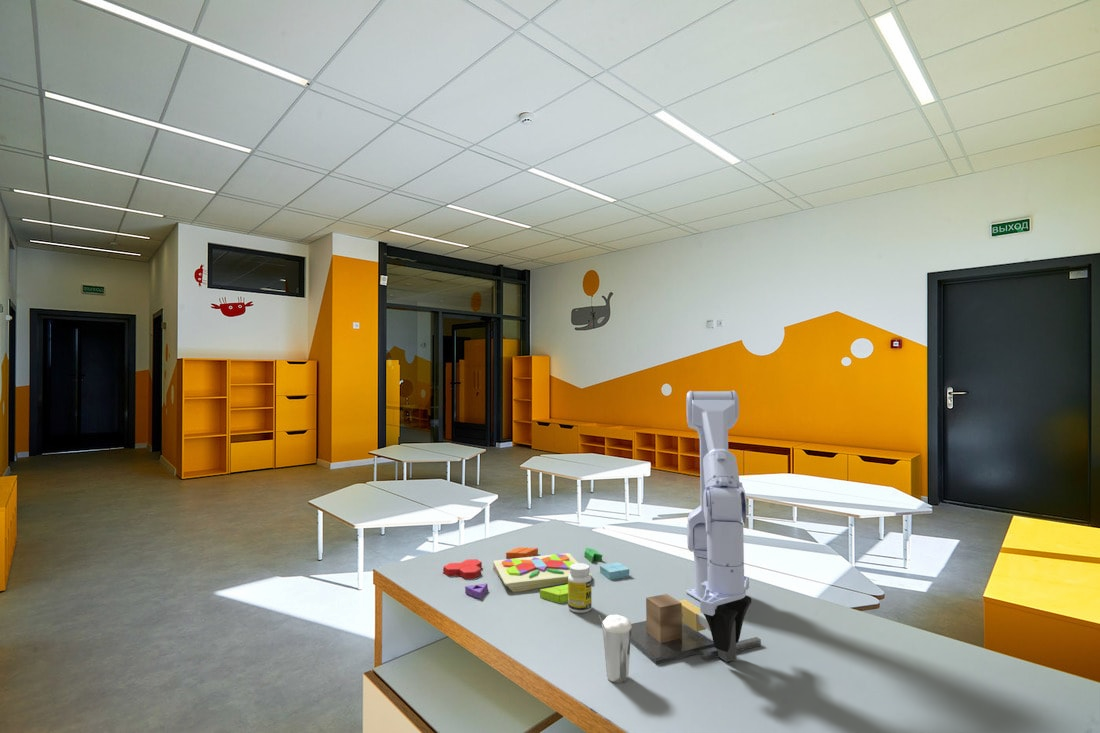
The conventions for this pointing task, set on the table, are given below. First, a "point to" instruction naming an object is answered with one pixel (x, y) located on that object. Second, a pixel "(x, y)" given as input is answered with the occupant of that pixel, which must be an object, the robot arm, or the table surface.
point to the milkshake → (617, 647)
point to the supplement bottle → (579, 588)
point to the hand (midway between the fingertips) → (726, 644)
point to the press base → (680, 644)
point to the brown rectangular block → (664, 618)
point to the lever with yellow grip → (706, 627)
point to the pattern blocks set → (532, 572)
